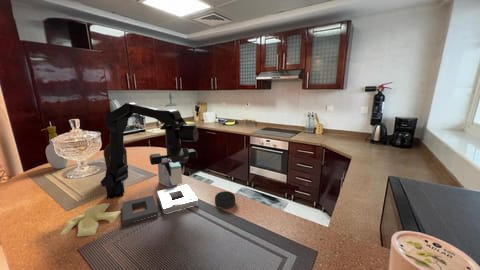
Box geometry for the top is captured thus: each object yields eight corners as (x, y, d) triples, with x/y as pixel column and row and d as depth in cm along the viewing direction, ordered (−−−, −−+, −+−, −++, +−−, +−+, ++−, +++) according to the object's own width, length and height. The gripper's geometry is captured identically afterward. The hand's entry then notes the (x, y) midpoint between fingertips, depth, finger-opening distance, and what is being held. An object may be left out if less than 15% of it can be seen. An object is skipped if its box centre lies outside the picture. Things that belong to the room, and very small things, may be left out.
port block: (163, 215, 78) (163, 207, 77) (157, 197, 92) (157, 190, 91) (198, 205, 85) (197, 198, 84) (187, 190, 99) (187, 183, 98)
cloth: (101, 202, 88) (99, 189, 86) (132, 211, 81) (131, 198, 80) (36, 235, 67) (32, 219, 66) (71, 251, 61) (67, 234, 60)
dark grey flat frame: (123, 225, 72) (122, 220, 72) (122, 206, 84) (122, 202, 83) (158, 215, 78) (157, 211, 78) (153, 199, 90) (153, 195, 89)
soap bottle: (43, 168, 123) (34, 127, 118) (60, 163, 131) (52, 124, 126) (56, 171, 118) (47, 129, 112) (73, 166, 126) (66, 126, 120)
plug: (172, 185, 83) (171, 167, 81) (169, 179, 88) (168, 162, 86) (182, 183, 85) (181, 165, 83) (178, 178, 90) (177, 161, 88)
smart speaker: (222, 196, 93) (222, 188, 92) (238, 202, 89) (238, 194, 88) (210, 205, 86) (210, 197, 85) (227, 212, 81) (227, 203, 80)
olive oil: (105, 177, 111) (99, 134, 105) (126, 172, 118) (121, 131, 113) (109, 184, 103) (103, 138, 98) (131, 178, 111) (126, 135, 105)
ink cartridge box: (178, 184, 104) (176, 158, 101) (169, 188, 100) (167, 161, 97) (167, 179, 110) (165, 154, 107) (158, 182, 106) (156, 157, 103)
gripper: (151, 147, 71) (154, 187, 74) (201, 141, 80) (202, 177, 83) (147, 141, 80) (151, 176, 84) (192, 136, 89) (194, 168, 93)
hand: (175, 175), depth 86 cm, fingers closed on plug, 4 cm apart
